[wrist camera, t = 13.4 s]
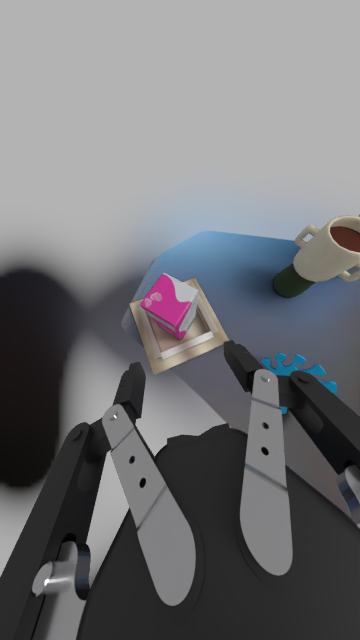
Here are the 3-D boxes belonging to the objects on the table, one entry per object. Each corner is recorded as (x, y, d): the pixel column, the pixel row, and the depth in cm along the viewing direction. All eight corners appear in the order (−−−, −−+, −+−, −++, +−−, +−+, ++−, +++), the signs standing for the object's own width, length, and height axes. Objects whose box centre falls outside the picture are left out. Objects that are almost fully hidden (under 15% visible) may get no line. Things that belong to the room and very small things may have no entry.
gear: (246, 357, 24) (323, 351, 18) (255, 350, 29) (320, 343, 22) (265, 422, 23) (359, 443, 16) (272, 404, 27) (348, 415, 20)
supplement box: (172, 304, 29) (163, 270, 18) (195, 317, 28) (202, 290, 17) (157, 326, 28) (137, 304, 17) (181, 341, 26) (177, 328, 15)
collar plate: (194, 280, 32) (195, 270, 28) (228, 342, 27) (234, 339, 24) (131, 305, 30) (124, 298, 27) (154, 374, 26) (150, 377, 22)
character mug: (316, 294, 29) (413, 245, 17) (294, 312, 28) (380, 275, 16) (277, 262, 32) (336, 200, 20) (256, 278, 31) (303, 223, 19)
